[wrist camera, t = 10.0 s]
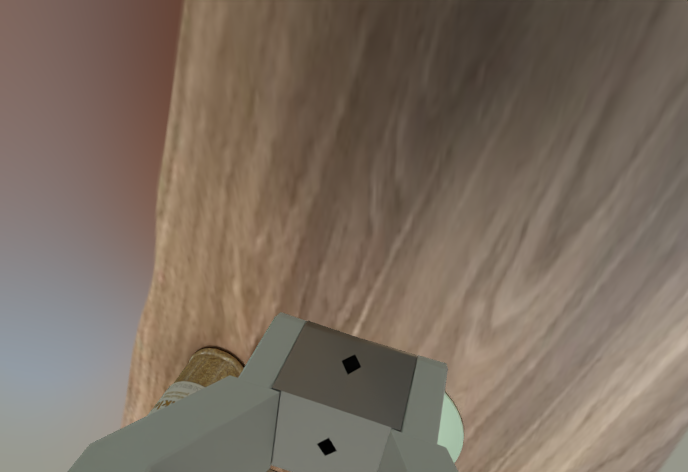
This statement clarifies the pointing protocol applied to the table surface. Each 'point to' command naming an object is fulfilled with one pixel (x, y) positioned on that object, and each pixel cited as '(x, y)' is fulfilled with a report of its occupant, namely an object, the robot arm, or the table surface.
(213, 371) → the sprinkles bottle
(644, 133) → the table surface
